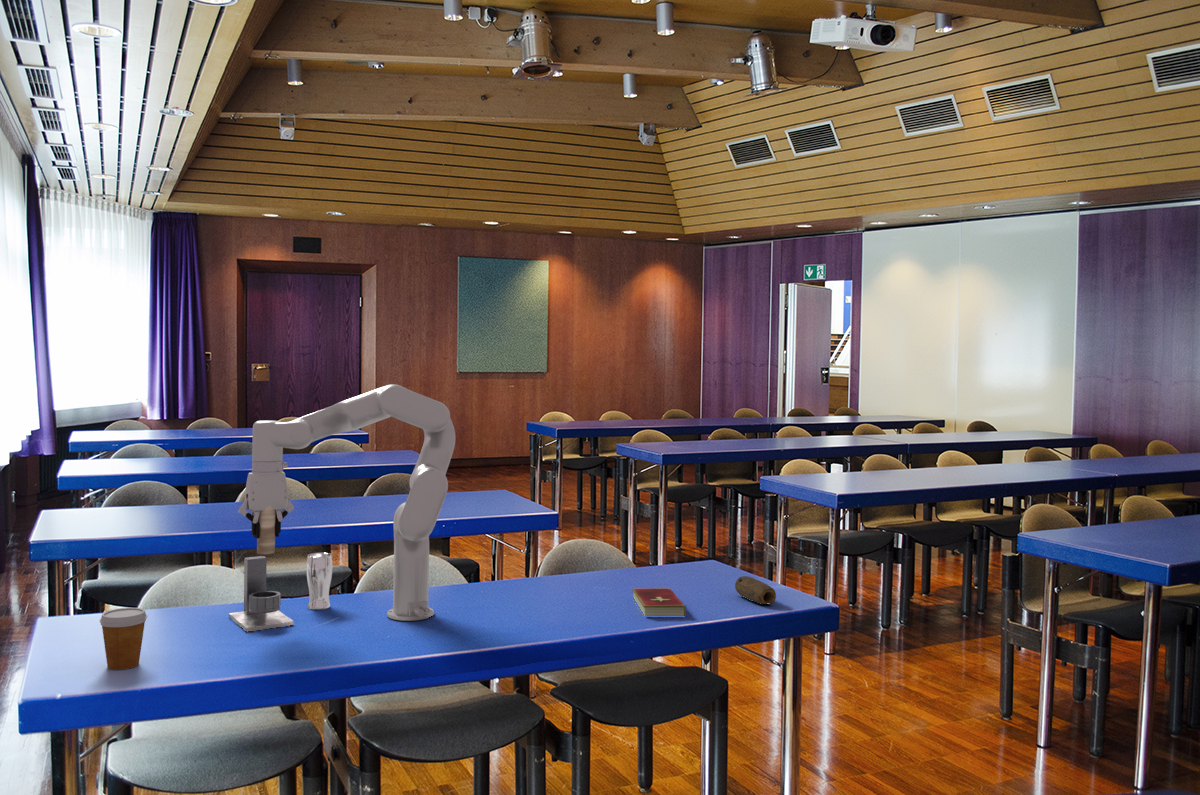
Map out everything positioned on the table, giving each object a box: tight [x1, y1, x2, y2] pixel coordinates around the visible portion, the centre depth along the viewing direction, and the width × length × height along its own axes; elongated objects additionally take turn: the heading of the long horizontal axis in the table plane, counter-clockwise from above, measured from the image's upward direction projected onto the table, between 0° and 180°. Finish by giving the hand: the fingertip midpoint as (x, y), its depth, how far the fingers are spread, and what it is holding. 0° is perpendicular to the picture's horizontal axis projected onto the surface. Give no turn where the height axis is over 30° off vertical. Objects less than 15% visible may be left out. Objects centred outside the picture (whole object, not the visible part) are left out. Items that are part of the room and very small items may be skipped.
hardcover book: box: [631, 587, 687, 617], centre depth 263 cm, size 12×21×4 cm, turn 7°
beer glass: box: [306, 552, 333, 611], centre depth 257 cm, size 7×7×15 cm
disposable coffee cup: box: [99, 607, 148, 671], centre depth 204 cm, size 10×10×12 cm
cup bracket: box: [228, 555, 295, 633], centre depth 241 cm, size 17×12×16 cm
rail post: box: [256, 505, 276, 555], centre depth 238 cm, size 4×4×14 cm
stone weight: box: [734, 575, 777, 605], centre depth 274 cm, size 15×7×7 cm, turn 28°
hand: (266, 536), depth 238 cm, fingers closed on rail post, 4 cm apart
